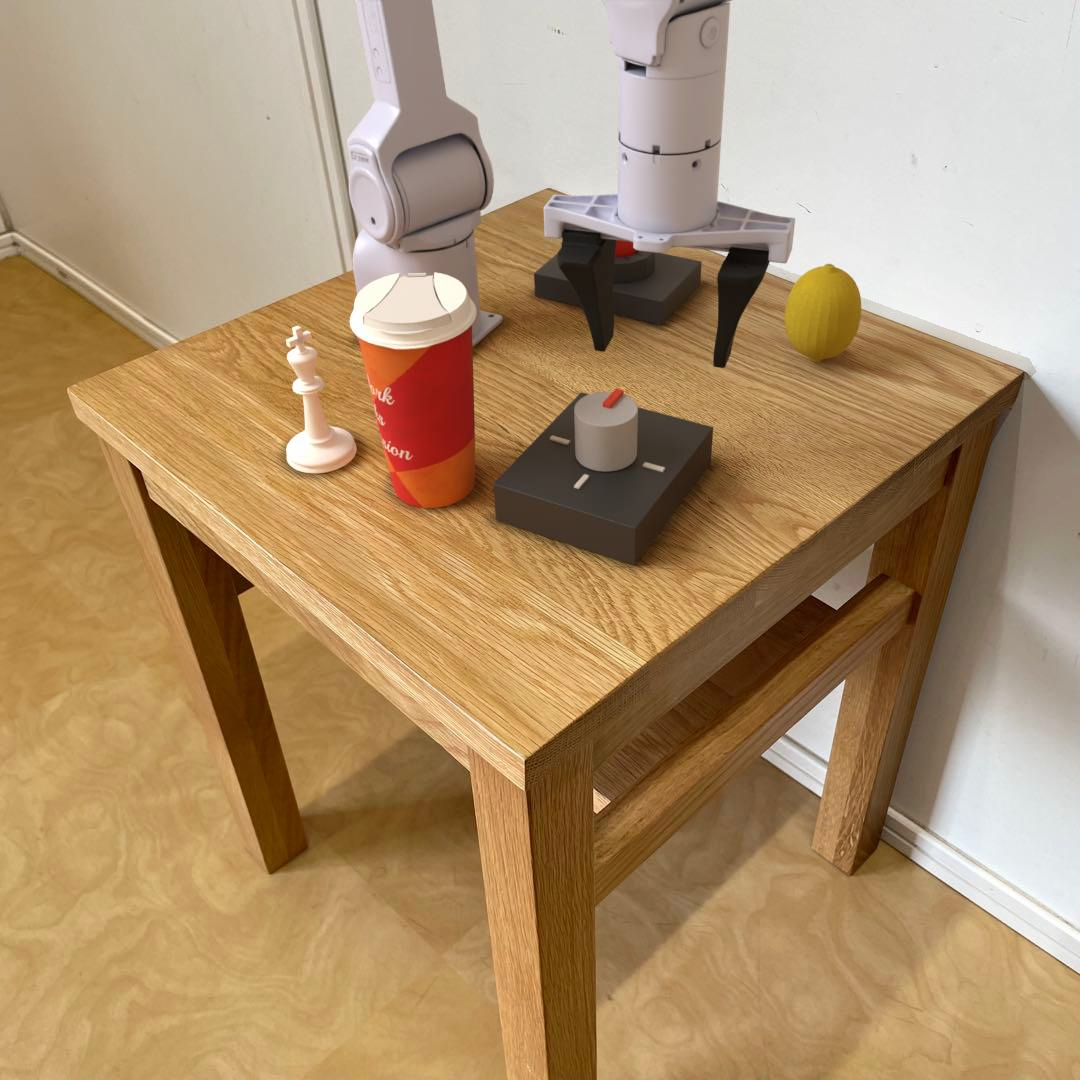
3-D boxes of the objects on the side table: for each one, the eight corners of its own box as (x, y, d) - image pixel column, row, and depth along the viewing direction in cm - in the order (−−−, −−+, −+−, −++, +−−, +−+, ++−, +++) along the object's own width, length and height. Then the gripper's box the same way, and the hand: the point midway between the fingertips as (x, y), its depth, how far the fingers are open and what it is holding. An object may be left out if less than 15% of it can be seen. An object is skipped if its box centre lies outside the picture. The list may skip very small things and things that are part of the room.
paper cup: (386, 451, 79) (357, 268, 70) (494, 449, 78) (479, 265, 69) (369, 520, 73) (335, 330, 64) (486, 519, 72) (469, 327, 63)
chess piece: (273, 453, 79) (244, 328, 73) (331, 425, 81) (307, 302, 75) (312, 482, 76) (285, 355, 70) (370, 452, 79) (349, 326, 72)
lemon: (853, 382, 83) (869, 284, 78) (778, 377, 84) (789, 280, 79) (852, 345, 87) (868, 250, 82) (780, 340, 88) (791, 246, 83)
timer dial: (620, 478, 70) (620, 428, 68) (564, 462, 72) (562, 412, 69) (647, 445, 73) (648, 396, 70) (592, 430, 74) (592, 381, 72)
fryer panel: (495, 520, 72) (492, 481, 70) (581, 427, 80) (581, 389, 78) (634, 566, 68) (635, 526, 66) (711, 463, 76) (713, 424, 74)
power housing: (534, 296, 96) (532, 253, 93) (578, 258, 101) (577, 216, 98) (662, 325, 91) (663, 280, 88) (700, 284, 96) (703, 241, 94)
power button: (592, 255, 93) (592, 235, 92) (609, 240, 95) (609, 221, 94) (626, 262, 92) (627, 242, 91) (643, 247, 94) (643, 227, 93)
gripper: (522, 151, 61) (533, 367, 69) (789, 175, 57) (765, 401, 65) (562, 108, 66) (567, 314, 74) (810, 127, 62) (785, 342, 71)
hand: (662, 351), depth 70 cm, fingers open, 7 cm apart
